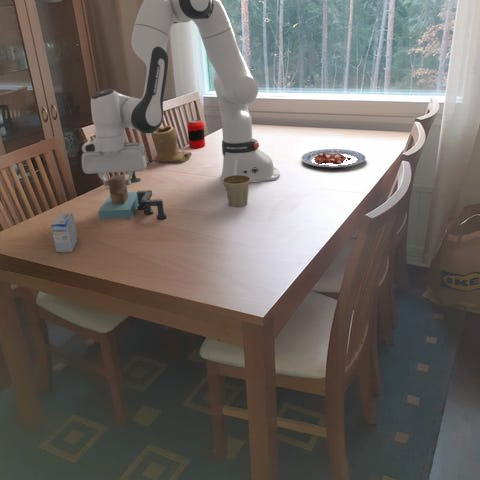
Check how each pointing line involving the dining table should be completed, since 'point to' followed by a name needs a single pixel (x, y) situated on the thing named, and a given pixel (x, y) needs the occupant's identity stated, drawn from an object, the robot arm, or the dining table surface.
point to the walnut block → (118, 189)
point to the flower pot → (237, 189)
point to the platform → (119, 208)
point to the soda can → (196, 134)
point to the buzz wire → (150, 204)
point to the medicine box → (64, 232)
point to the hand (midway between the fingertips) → (117, 184)
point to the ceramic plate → (331, 157)
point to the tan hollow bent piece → (168, 145)
